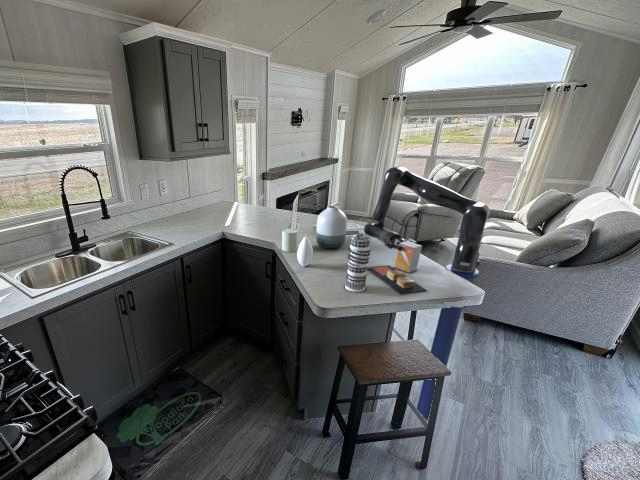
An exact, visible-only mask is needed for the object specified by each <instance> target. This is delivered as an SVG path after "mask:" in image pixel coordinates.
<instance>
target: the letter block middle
mask: <svg viewBox="0 0 640 480" xmlns="http://www.w3.org/2000/svg"><path fill="white" fill-rule="evenodd" d="M403 275H404V272H402V271H400V270H398V269H395V270H389V271H387V277H388V278H390V279H391V280H392V281H395V280H397V279H398V278H399V277H403Z"/></svg>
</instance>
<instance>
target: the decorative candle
mask: <svg viewBox="0 0 640 480" xmlns="http://www.w3.org/2000/svg"><path fill="white" fill-rule="evenodd" d="M350 240H351V241H350V244H349V246H348V248H347V249H348V252H347V264H348V268H347V272H346V275H345V289H346V290H348V291H350V292H354V293H361V292H364V291H365V289H366V283H367V281H366V280H367V275H368V274H367V268H368V265H369V262H370V261H369V260H370V256H371V251H372V250H371V249H370V244H371V240H372V237H371V236H368V235H367V234H365V232H357V233H354V234H353V235H352V236H350Z"/></svg>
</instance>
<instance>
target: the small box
mask: <svg viewBox="0 0 640 480" xmlns="http://www.w3.org/2000/svg"><path fill="white" fill-rule="evenodd" d="M399 245H400V246H401V247H402V251H399V250H397V254H396V259H395V264H394V268H397V269H399V270H402V271H404V272H407V273H412V272H414V271H417V269H418V266H419V265H418V264H419V261H420V256H421V252H422V248H423V245H421V244H418V243H416V244H415V243H411V242H408V241H406V242H402V243H400V244H399Z"/></svg>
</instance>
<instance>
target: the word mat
mask: <svg viewBox="0 0 640 480" xmlns="http://www.w3.org/2000/svg"><path fill="white" fill-rule="evenodd" d="M366 270H368V271H369V272H371V273H372V274H374V275H375V276H376V277H377V278H379V279H380V280H381V281H383V282H384V283H386V284H387V285H388V286H390V287H391V288H392V289H393V290H394V291H396V292H398V293H399V294H400V295H403V294H412V293H420V292H421V293H422V292H427V290H426V289H425V288H424V287H422V286H421V285H420V284H418V283H416V282H415V283H414V287H411V288H402V287H401V286H399V285H398V284H397V280H395V281H392V280H391V279H390V278H388V277H387V271H389V270H396V269H395V268H393V267H392V266H391V265H380V266H371V267H366ZM403 277H407V276H405V275H404V274H403Z"/></svg>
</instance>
